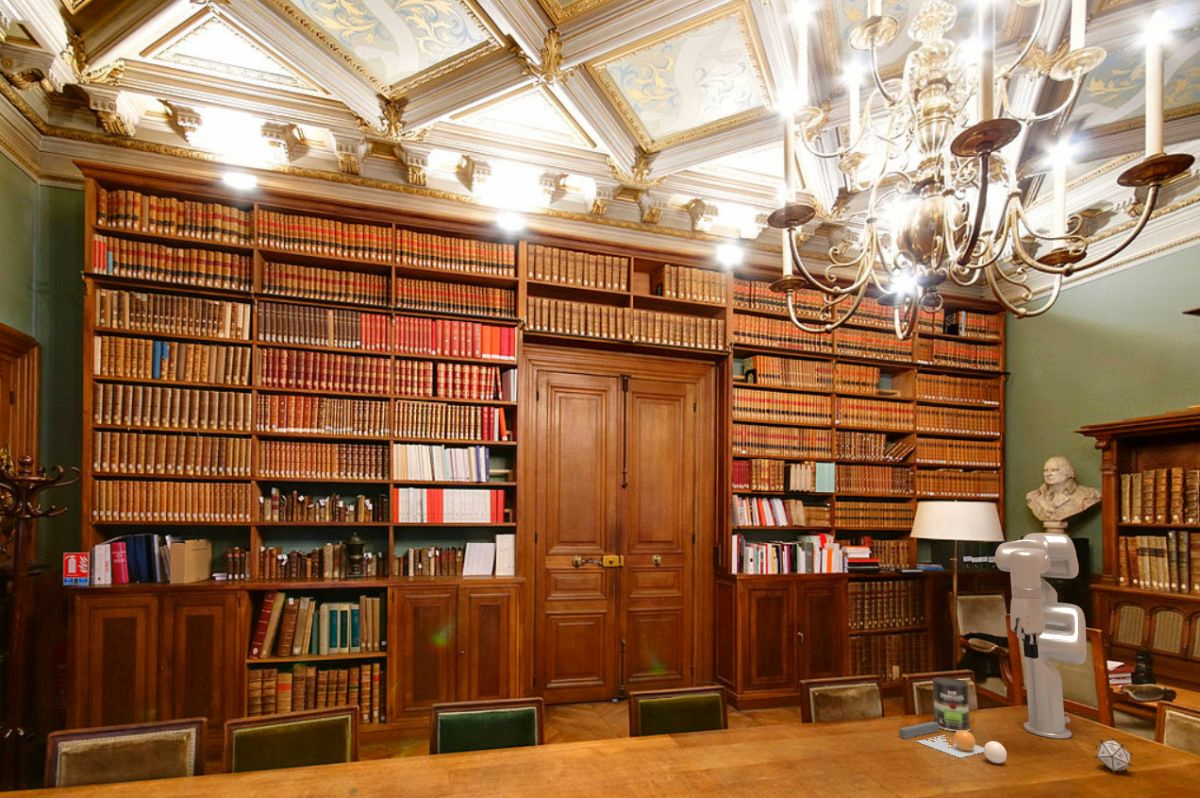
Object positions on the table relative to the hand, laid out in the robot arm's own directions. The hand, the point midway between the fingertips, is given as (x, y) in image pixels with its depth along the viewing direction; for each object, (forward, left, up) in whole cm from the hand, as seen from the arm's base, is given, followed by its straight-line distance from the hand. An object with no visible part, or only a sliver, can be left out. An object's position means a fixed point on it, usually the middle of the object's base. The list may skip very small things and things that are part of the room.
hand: (1031, 657), depth 196 cm
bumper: (+17, -26, -27) cm, 41 cm away
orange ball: (+16, -11, -24) cm, 31 cm away
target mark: (+17, -15, -27) cm, 35 cm away
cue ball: (+17, -2, -24) cm, 30 cm away
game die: (-7, +16, -27) cm, 32 cm away
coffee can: (+1, -26, -27) cm, 38 cm away
